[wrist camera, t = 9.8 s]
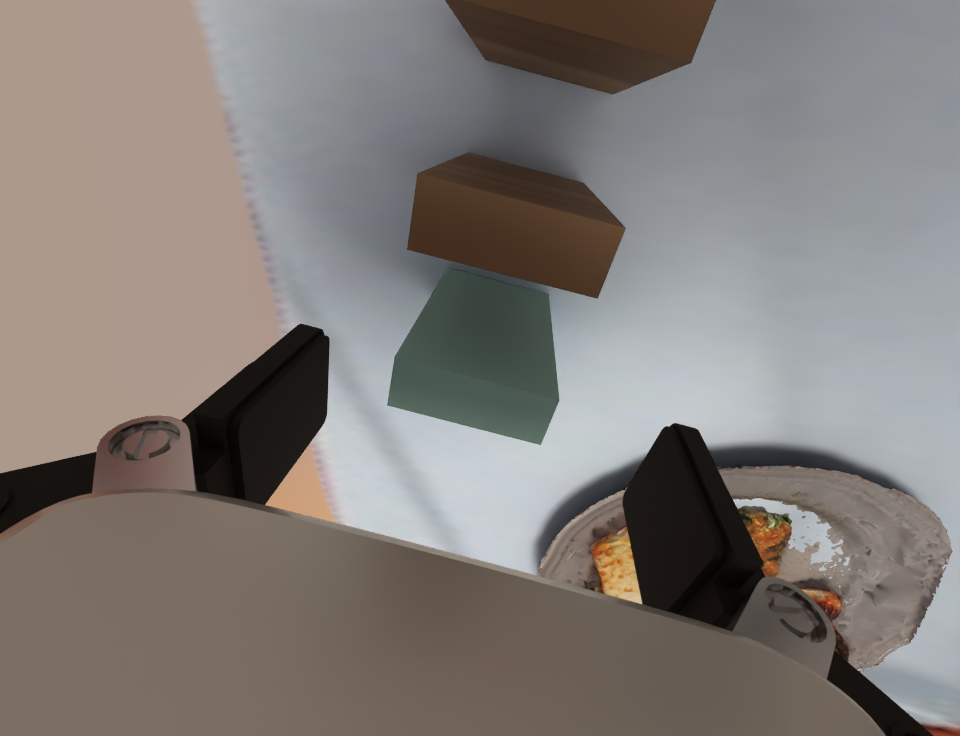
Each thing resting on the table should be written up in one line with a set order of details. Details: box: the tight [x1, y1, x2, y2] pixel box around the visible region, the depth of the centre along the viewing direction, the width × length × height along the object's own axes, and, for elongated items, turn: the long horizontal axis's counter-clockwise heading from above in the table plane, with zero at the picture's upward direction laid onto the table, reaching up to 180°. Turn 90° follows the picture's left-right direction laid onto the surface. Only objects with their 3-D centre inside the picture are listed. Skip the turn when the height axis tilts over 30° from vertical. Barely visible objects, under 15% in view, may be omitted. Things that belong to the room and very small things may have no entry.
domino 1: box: [445, 0, 716, 94], centre depth 11 cm, size 2×5×9 cm, turn 77°
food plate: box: [537, 465, 953, 672], centre depth 28 cm, size 25×23×4 cm
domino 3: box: [387, 268, 559, 445], centre depth 17 cm, size 2×5×9 cm, turn 77°
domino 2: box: [407, 153, 625, 299], centre depth 14 cm, size 2×5×9 cm, turn 77°
